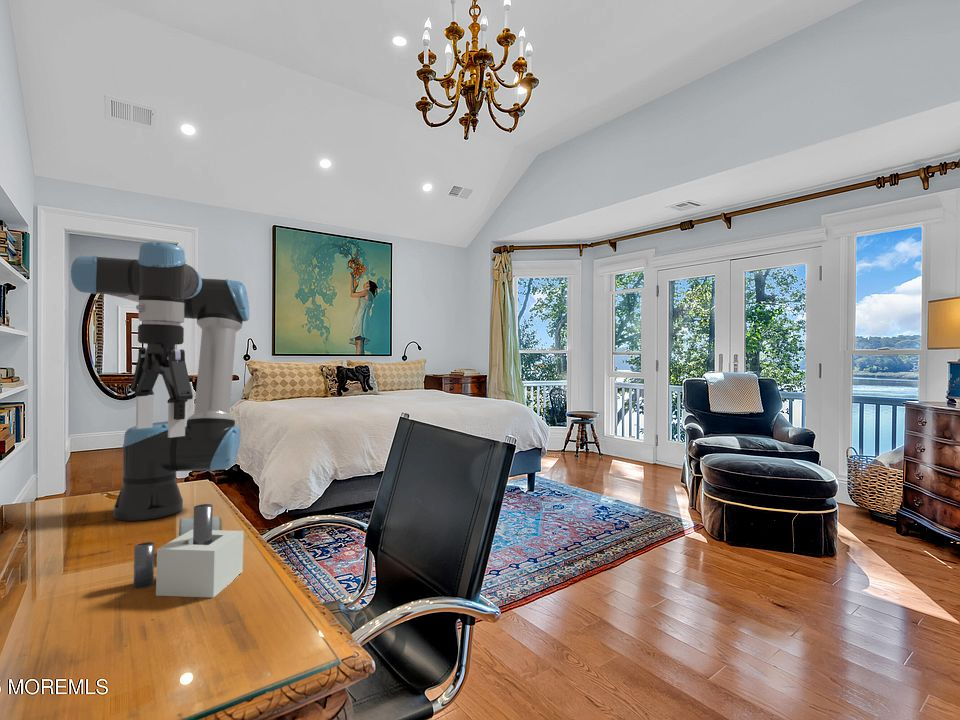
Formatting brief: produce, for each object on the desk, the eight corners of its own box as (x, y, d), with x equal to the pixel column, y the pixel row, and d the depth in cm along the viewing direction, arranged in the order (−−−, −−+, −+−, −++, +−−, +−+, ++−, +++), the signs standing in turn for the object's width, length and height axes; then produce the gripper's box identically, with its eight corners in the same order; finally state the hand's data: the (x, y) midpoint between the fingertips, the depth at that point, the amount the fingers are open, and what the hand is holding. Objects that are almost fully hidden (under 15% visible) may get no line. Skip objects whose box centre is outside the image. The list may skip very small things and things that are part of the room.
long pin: (198, 579, 92) (200, 503, 92) (214, 580, 92) (216, 504, 92) (188, 587, 89) (190, 508, 89) (204, 587, 89) (206, 509, 89)
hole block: (191, 571, 95) (192, 529, 95) (242, 572, 95) (243, 531, 95) (155, 595, 85) (157, 549, 85) (213, 597, 85) (214, 550, 85)
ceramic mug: (223, 555, 103) (224, 518, 103) (177, 563, 99) (178, 524, 99) (219, 540, 112) (220, 505, 112) (176, 546, 108) (177, 510, 108)
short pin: (141, 580, 91) (142, 542, 91) (157, 580, 91) (158, 542, 91) (129, 587, 88) (130, 548, 88) (145, 588, 88) (146, 548, 88)
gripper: (112, 322, 101) (111, 426, 102) (171, 322, 87) (169, 443, 87) (153, 324, 107) (152, 422, 108) (214, 325, 93) (212, 437, 94)
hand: (159, 432), depth 98 cm, fingers open, 13 cm apart
